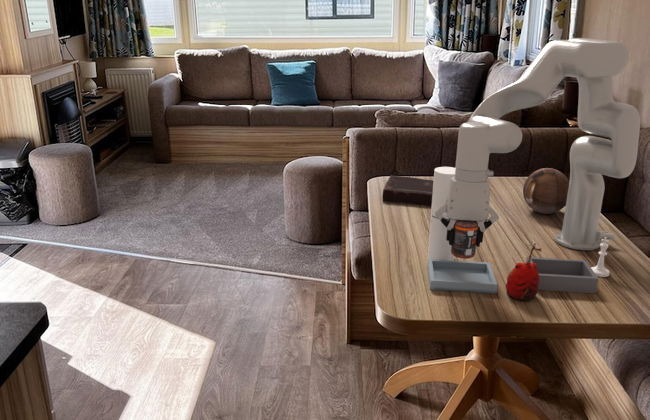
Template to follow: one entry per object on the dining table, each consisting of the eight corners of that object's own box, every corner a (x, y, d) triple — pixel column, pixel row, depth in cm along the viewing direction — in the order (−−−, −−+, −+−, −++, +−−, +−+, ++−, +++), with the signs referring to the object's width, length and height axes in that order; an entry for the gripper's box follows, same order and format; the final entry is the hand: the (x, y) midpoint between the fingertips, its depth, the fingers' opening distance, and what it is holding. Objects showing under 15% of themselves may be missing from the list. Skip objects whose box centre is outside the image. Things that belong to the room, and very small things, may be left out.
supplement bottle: (475, 260, 155) (479, 217, 152) (450, 258, 156) (454, 215, 153) (474, 251, 161) (479, 209, 157) (450, 249, 162) (454, 207, 158)
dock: (583, 274, 166) (585, 260, 164) (595, 293, 155) (598, 278, 154) (524, 270, 167) (526, 257, 166) (533, 289, 157) (535, 275, 155)
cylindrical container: (438, 265, 170) (445, 175, 161) (422, 255, 176) (428, 168, 167) (459, 260, 173) (467, 172, 164) (443, 251, 179) (450, 165, 170)
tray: (488, 271, 166) (489, 262, 166) (496, 293, 154) (497, 284, 153) (427, 267, 168) (428, 259, 167) (430, 289, 156) (430, 280, 155)
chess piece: (607, 278, 164) (614, 242, 160) (587, 274, 166) (593, 238, 163) (610, 271, 167) (617, 236, 164) (591, 267, 170) (597, 232, 167)
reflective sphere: (557, 205, 218) (563, 163, 213) (575, 220, 204) (582, 175, 199) (514, 204, 218) (519, 162, 213) (529, 220, 204) (535, 175, 199)
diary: (455, 210, 213) (456, 195, 212) (382, 203, 219) (382, 189, 217) (458, 193, 230) (459, 180, 229) (390, 187, 236) (390, 174, 234)
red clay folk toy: (530, 289, 157) (538, 233, 152) (542, 302, 150) (551, 244, 145) (500, 290, 156) (507, 234, 151) (512, 304, 150) (519, 245, 144)
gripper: (504, 172, 155) (496, 240, 161) (433, 168, 156) (428, 236, 162) (510, 180, 147) (501, 252, 153) (435, 177, 149) (429, 247, 155)
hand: (463, 243), depth 158 cm, fingers closed on supplement bottle, 6 cm apart
